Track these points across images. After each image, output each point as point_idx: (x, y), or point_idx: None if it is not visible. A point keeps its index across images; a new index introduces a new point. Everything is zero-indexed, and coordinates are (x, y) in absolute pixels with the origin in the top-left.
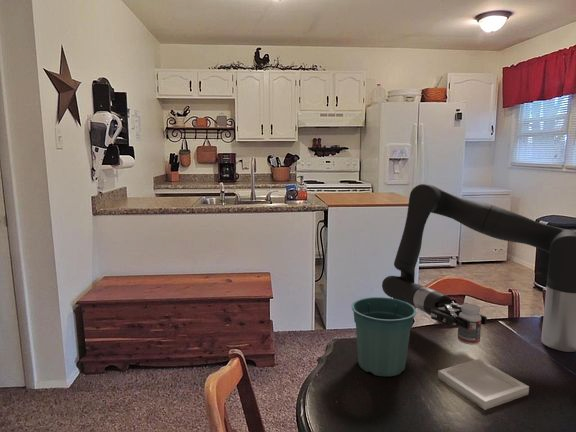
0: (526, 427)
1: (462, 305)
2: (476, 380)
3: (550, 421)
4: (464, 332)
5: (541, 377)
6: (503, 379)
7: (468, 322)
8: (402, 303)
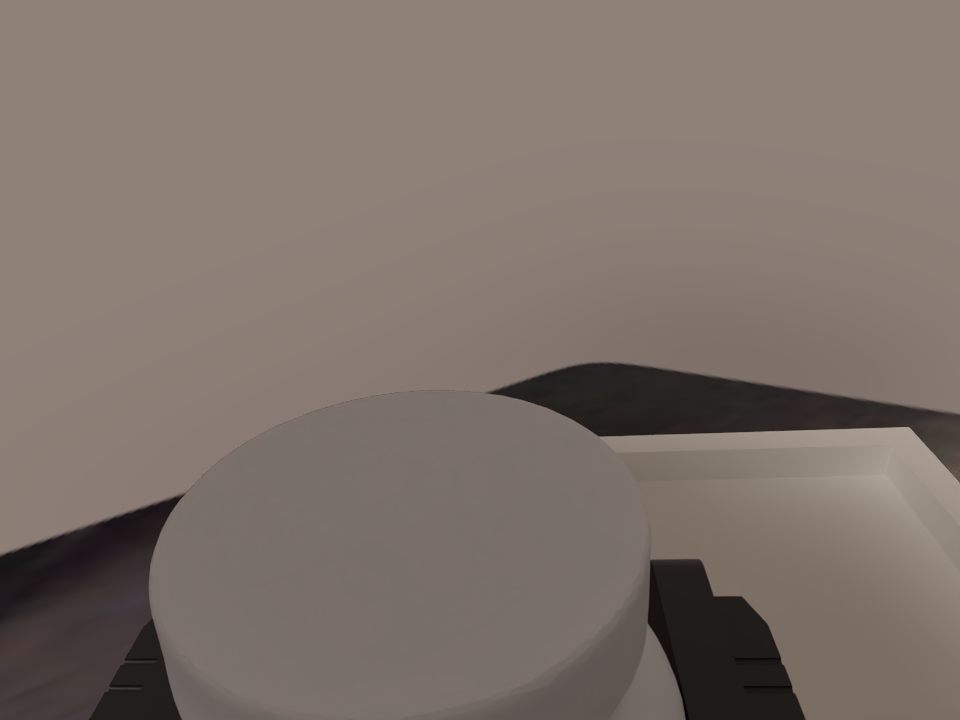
0: (765, 384)
1: (553, 630)
2: (797, 620)
3: (636, 381)
4: None
5: None
6: None
7: (676, 561)
8: None
